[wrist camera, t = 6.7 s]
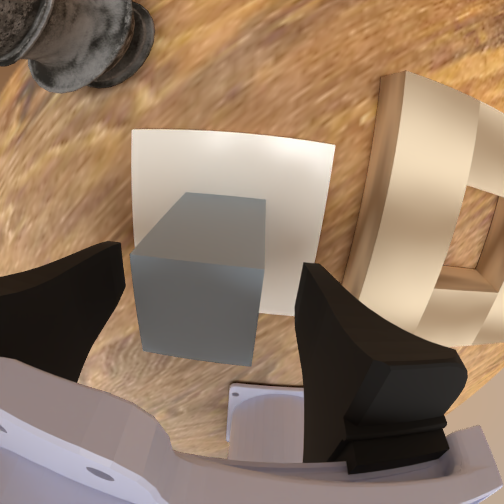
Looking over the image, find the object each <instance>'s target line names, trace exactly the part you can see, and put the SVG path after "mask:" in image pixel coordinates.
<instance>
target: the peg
mask: <svg viewBox="0 0 504 504" xmlns="http://www.w3.org/2000/svg"><path fill="white" fill-rule="evenodd" d="M265 219H266V200H265V199H256V198H246V197H236V196H225V195H214V194H202V193H190V192H186V193H185V194H184V195H183V196H182V197H181V198H180V199H179V200H178V201H177V202H176V203H175V204H174V205H173V206H172V207H171V208H170V210H169V211H168V212H167V213H166V214H165V215H164V216H163V217H162V218H161V219H160V220H159V221H158V223H157V224H156V225H155V226H154V227H153V228H152V229H151V230H150V231H149V233H148V234H147V235H146V236H145V237H144V238H143V239H142V240H141V242H140V243H139V244H138V245H137V246H136V247H135V249H134V250H133V251H132V252H131V253H130V263H131V272H132V281H133V289H134V297H135V304H136V311H137V317H138V324H139V330H140V336H141V341H142V347H143V351H147V352H152V353H157V354H163V355H169V356H174V357H181V358H187V359H194V360H200V361H208V362H215V363H223V364H232V365H241V366H251V365H252V358H253V351H254V344H255V337H256V330H257V322H258V315H259V308H260V300H261V293H262V286H263V278H264V270H265Z"/></svg>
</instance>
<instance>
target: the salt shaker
mask: <svg viewBox="0 0 504 504" xmlns="http://www.w3.org/2000/svg"><path fill="white" fill-rule="evenodd" d="M154 33H155V29H154V23H153V19H152V17H151V16H150V14H149V12H148V11H147V10H146V9H145V8H144V7H143V6H141V5H140V4H138V3H135V2H132V0H0V66H9V65H11V64H14V63H15V62H17V61H18V60H19V59H28V66H29V69H30V72H31V74H32V77H33V79H34V80H35V81H36V82H37V84H38V85H39V86H40V87H42V88H44V89H45V90H47V91H49V92H55V93H67V92H72V91H76V90H78V89H80V88H82V87H84V86H89V87H95V88H106V87H112V86H114V85H117V84H119V83H122V82H123V81H125V80H126V79H128V78H129V77H131V76H132V75H133V74H134V73H135V72H136V71H137V70H138V69H139V68H140V67H141V66H142V65H143V63H144V61H145V60H146V58H147V57H148V55H149V53H150V50H151V48H152V45H153V42H154Z"/></svg>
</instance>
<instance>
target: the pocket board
mask: <svg viewBox="0 0 504 504" xmlns="http://www.w3.org/2000/svg"><path fill="white" fill-rule="evenodd" d="M467 185H468V186H471V187H474V188H477V189H480V190H483V191H486V192H489V193H492V194H495V195H498V196H499V198H498V202H497V206H496V210H495V213H494V217H493V220H492V223H491V227H490V230H489V233H488V236H487V239H486V242H485V245H484V248H483V251H482V254H481V256H480V259H479V262H478V264H477V267H476V269H468V268H460V267H452V266H443V263H444V260H445V258H446V255H447V252H448V249H449V246H450V243H451V240H452V237H453V233H454V230H455V227H456V224H457V220H458V217H459V213H460V209H461V206H462V202H463V198H464V194H465V190H466V186H467ZM342 286H343V287H344V288H345V289H346V290H348V291H349V292H350V293H351V294H352V295H353V296H354V297H356V298H357V299H358V300H359V301H360V302H362V303H363V304H364V305H365V306H367V307H368V308H369V309H371V310H372V311H374V312H375V313H377V314H378V315H380V316H381V317H383V318H384V319H386V320H387V321H389V322H391V323H393V324H394V325H396V326H398V327H400V328H402V329H403V330H405V331H408V332H410V333H412V334H414V335H416V336H418V337H421V338H423V339H425V340H428V341H430V342H433V343H436V344H439V345H442V346H445V347H456V346H471V345H483V344H494V343H503V342H504V113H502V112H500V111H499V110H497V109H495V108H493V107H491V106H489V105H487V104H485V103H483V102H481V101H479V100H477V99H475V98H473V97H471V96H469V95H467V94H464V93H462V92H460V91H458V90H455V89H453V88H451V87H448V86H446V85H443V84H441V83H439V82H436V81H433V80H431V79H428V78H425V77H423V76H420V75H417V74H414V73H411V72H408V71H402V72H398V73H394V74H390V75H386V76H382V77H381V81H380V91H379V99H378V108H377V115H376V123H375V130H374V136H373V143H372V149H371V155H370V161H369V167H368V172H367V178H366V183H365V188H364V193H363V198H362V203H361V208H360V212H359V217H358V221H357V226H356V230H355V234H354V239H353V243H352V247H351V251H350V255H349V259H348V263H347V267H346V271H345V274H344V278H343V282H342Z"/></svg>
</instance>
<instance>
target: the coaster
mask: <svg viewBox="0 0 504 504" xmlns="http://www.w3.org/2000/svg"><path fill="white" fill-rule="evenodd" d="M334 151H335V145H334V144H329V143H323V142H316V141H310V140H303V139H296V138H288V137H280V136H271V135H262V134H252V133H241V132H228V131H212V130H190V129H132V153H131V173H132V210H133V229H134V243H135V247H136V246H137V245H138V244H139V243H140V242H141V240H142V239H143V238H144V237H145V236H146V235H147V234H148V233H149V231H150V230H151V229H152V228H153V227H154V226H155V225H156V224H157V223H158V221H159V220H160V219H161V218H162V217H163V216H164V215H165V214H166V213H167V212H168V211H169V210H170V208H171V207H172V206H173V205H174V204H175V203H176V202H177V201H178V200H179V199H180V198H181V197H182V196H183V195H184V194H185V193H186V192H190V193H202V194H214V195H225V196H236V197H246V198H256V199H265V200H266V219H265V270H264V278H263V286H262V293H261V300H260V308H259V313H265V314H276V315H287V316H295V308H294V306H295V302H296V297H297V292H298V287H299V282H300V277H301V272H302V267H303V262H307V263H314V262H315V258H316V253H317V248H318V243H319V238H320V233H321V227H322V222H323V217H324V211H325V206H326V200H327V194H328V189H329V183H330V177H331V170H332V164H333V157H334Z"/></svg>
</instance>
